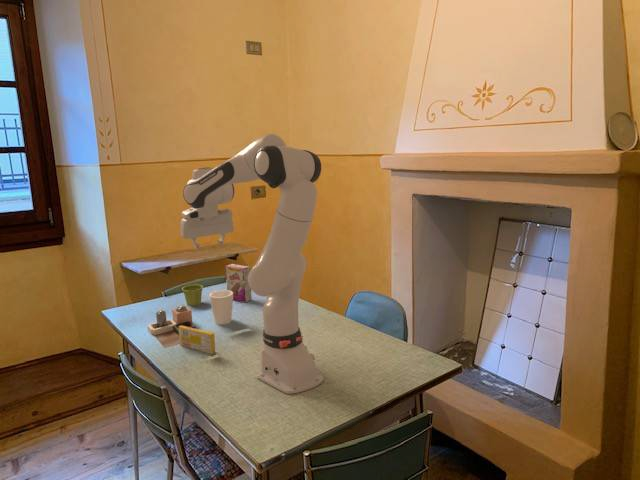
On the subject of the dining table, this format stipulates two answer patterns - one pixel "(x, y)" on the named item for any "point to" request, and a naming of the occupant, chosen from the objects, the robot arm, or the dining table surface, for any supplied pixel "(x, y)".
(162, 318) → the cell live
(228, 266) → the candy bar box
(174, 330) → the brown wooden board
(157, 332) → the trough
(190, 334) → the candy box
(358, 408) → the dining table surface
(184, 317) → the terracotta square box
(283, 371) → the robot arm
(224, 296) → the foam cup
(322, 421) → the dining table surface
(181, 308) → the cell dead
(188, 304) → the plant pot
